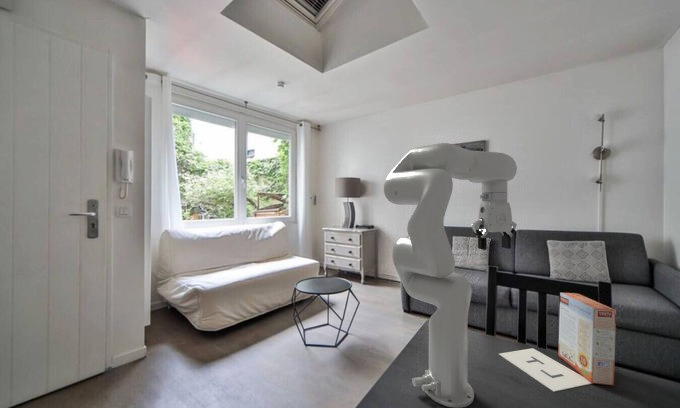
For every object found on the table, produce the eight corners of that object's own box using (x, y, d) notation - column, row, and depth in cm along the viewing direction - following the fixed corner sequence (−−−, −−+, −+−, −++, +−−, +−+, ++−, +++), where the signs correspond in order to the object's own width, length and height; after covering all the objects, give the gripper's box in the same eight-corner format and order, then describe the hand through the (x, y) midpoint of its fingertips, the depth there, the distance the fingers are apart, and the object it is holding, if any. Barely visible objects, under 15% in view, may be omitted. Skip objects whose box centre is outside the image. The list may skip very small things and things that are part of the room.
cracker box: (616, 386, 73) (617, 309, 73) (590, 384, 74) (592, 307, 74) (578, 357, 87) (579, 292, 86) (557, 355, 87) (558, 291, 87)
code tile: (553, 391, 71) (553, 390, 71) (498, 354, 88) (498, 353, 88) (593, 383, 74) (593, 382, 74) (532, 348, 92) (532, 348, 92)
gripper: (480, 198, 86) (480, 251, 86) (525, 198, 90) (524, 249, 90) (464, 198, 93) (464, 247, 93) (506, 198, 97) (506, 245, 97)
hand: (494, 248), depth 91 cm, fingers open, 9 cm apart
